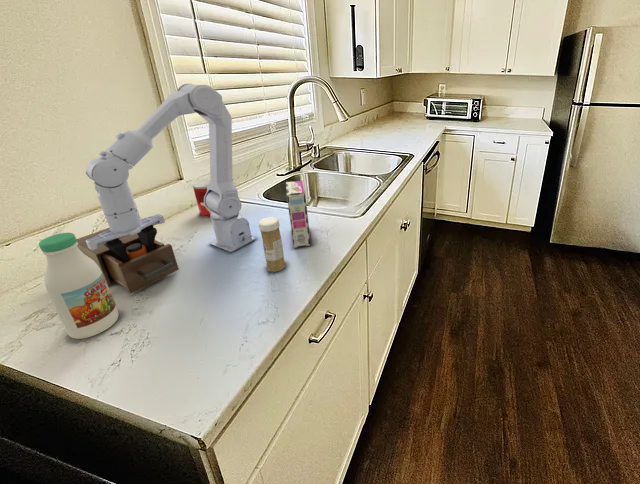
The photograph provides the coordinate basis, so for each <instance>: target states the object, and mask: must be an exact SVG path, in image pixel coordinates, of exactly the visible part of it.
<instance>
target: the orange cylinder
mask: <svg viewBox="0 0 640 484" xmlns="http://www.w3.org/2000/svg"><path fill="white" fill-rule="evenodd" d="M126 250H127V254H128V257H129V259H130V260H133V259H135V258H137V257H139V256H142V255H144V254H146V253H148V252H147V249H146V247H145V245H141V244H140V243H136V244H132V245H130V246H128V247H127V249H126Z"/></svg>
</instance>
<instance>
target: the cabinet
mask: <svg viewBox="0 0 640 484" xmlns="http://www.w3.org/2000/svg"><path fill="white" fill-rule="evenodd" d="M109 229H110V228H109V227H107V228H105V229H101V230H99V231H96V232H93V233H90V234H87V235H84V236H82V237H81V236H80V237H78V238H76V240H77V242H78V245H77V247H78V248H79V249H80V250H81V252H83V253H84V254H85V255H86V256H88V257H89V258H91V259H92V260H93V261H94V262H95V263H96V264H97V265H98V266H99V268H100V269H101V271H102V274H103V276H104V278H105V280H106V283H107V285H108V287H111V286H113V285H114V284H118V283H117V282H115V281H114V280H112V279H110V278H109V277H108V274H107V272H106V269H105V267H104V264H103V262H102V259H101V257H100V255H103V254H105V253H108V252H110V251H111V250H110V249H109V248H107V247H106V246H105V245H102V246H99V247H98V248H97V249H95V250H91V249H89V248H88V246H87V243H86V240H88V239H91V238H93V237H95V236H97V235H99V234H101V233H103V232H105V231H107V230H109ZM119 240H121V241H122V242H123V243H125V244H126V245H128V244H130V243H133V242H135V241H138V240H140V238H139V236H138V234H134V235H128V236H125V237H123V238H120V239H119Z"/></svg>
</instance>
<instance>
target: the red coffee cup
mask: <svg viewBox="0 0 640 484" xmlns="http://www.w3.org/2000/svg"><path fill="white" fill-rule="evenodd" d="M210 181H211V178H210V179H202V180H198V181H196V182H194V183H193V184H192V188H193V192H194V196H195V200H196V205H197V207H198V211H199V212H198V213H199V214H200V215H201V216H202V217H204V218H205V217H206V218H208V217H209V218H211V216H210V215H211V214H210V212H209V211H208V210H207V209H206V207H205V206H203V205H201V204H200V203H204V197H205V194H206V192H207V185H208V184H209V182H210Z"/></svg>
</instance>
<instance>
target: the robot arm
mask: <svg viewBox="0 0 640 484" xmlns="http://www.w3.org/2000/svg"><path fill="white" fill-rule="evenodd" d="M190 114H191V115H192V114H197V115H198V116H200V117H201V118H202V119H203V120H204V121H206V122H207V123H208V141H209V142H208V143H209V171H210V173H209V174H210V175H209V176H210V179H211V181H210V182H209V184H208V185H207V192H206V194H205V197H204V204H205V205H206V207H207V208H209V209H211V215H210V216H211V217H210V219H211V224H212V227H213V232H214V237H215V240H212V241H211V242H210V245H212V246H214V247H217V248H219V249H222V250H225V251H227V252H229V253H232V252H234V251H236V250H238V249H240V248H242V247H244V246H246V245H247V244H249V243H252V242H254V241H255V240H256V238H255V237H254V236H252V231H251V228H250V223H249V221H248V219H246V218H245V217H243V215H242V214H241V213H240V211H241V209H242V201H241V199H240V197H239V193H238V192H239V191H238V188H237V186H236V185H235V183H234V182H233V179H234V178H233V124H232V123H233V122H232V120H233V119H232V115H231V113H230V112H229V109H228V108H227V106H226V105H225V103H224V101H223V95H222V94H221V93H219V92H218V91H217V90H216V89H215V88H213V87H212V86H210V85H207V84H193V83H183V84H182V85H180V86H179V87H178V88H177V90H174V91H172V92H171V93H170V94H169V95H168V96H167V97H166V98H165V100H163V102H161V104H160V105H159V106H158V107H157V108H156V109H155V110H154V111H153V113H152V114H151V115H150V116H148V118H147V119H146V120H145V121H144V122H143V123H142V124H141V125H140V126H139V127H138V128H137V129H127V130H126V131H125V132H118V133H117V134H116V135H115V138H117V139H115V141H113V143H112V144H111V145H110V146H108V148H106V149H105V151H104V150H101V151H99V152H98V155H99V157H95V158H93V159H91V160H90V161H89V162H88V163H87V165H86V171H85V175H86V176H87V177H88V178H89V179H90V180H92V181H93V185H94V189H95V191H96V196H97V199H98V201H99V204H100V206H101V209H102V212H103V215H104V217H105V221H106V222H107V224H108V228H110V229H109V230H107V231H105V232H103V233H101V234H99V235H97V236H95V237H93V238H91V239H88V240H86V243H87V246H88V248H89V249H91V250H95V249H97V248H98V247H99V246H102V245H105V246H106V247H107V248H109V249H110V250H111V251H112V252H114V253H115V254H116V255H117V256H118V257H119V259H120V260H121V261H122V262H123V264H124V263H126V262H128V261H130V259H129V257H128V254H127V250H126V244H125V243H123V242H122V241H121V240H119V239H120V238H123V237H125V236H128V235H134V234H138V236H139V238H140V241H141V243H142V245H145V247H146V249H147V252H148V253H149V252H151V251H153V244H154V240H156V237H157V234H158V230H157V228H156V227H154V226H156V225H162V224H165V223H166V221H165V218H164V215H162V214H159V213H157V214H155V215H151V216H147V217H144V218H141V216H140V212H139V210H138V207H137V206H138V205H137V204H136V201H135V198H134V194H133V192H132V189H131V187H130V185H129V183H128V179H129V176H130V172H129V171H130V170H133V168H134V167H135V166H136V165H137V164H138V163H139V162H140V161H141V160H143V158H144V157H145V156H146V155H147V154H149V152H150V151H151V150H152V149H153V148H154V147H153V139H155V137H157V136H158V135H159V134H160V133H161V132H162V131H163V130H165V129H166V128H167V127H168V126H169V125H170V124H171V123H173V122H174V120H176V119H177V118H178V117H180V116H184V115H190Z"/></svg>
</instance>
